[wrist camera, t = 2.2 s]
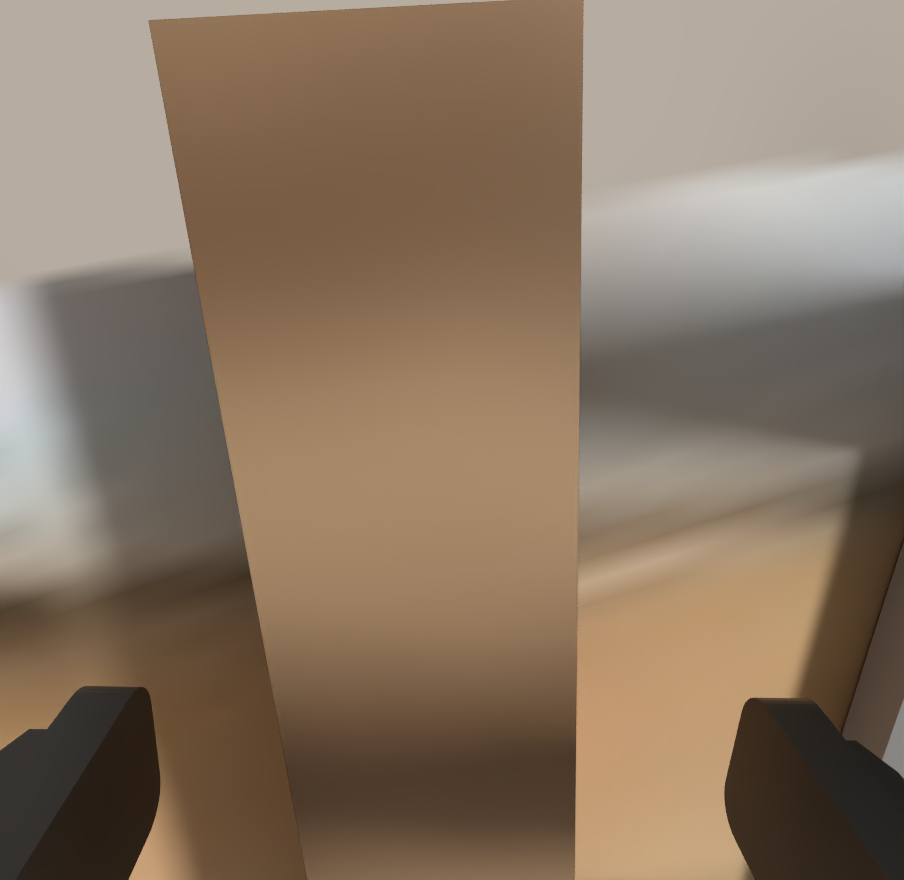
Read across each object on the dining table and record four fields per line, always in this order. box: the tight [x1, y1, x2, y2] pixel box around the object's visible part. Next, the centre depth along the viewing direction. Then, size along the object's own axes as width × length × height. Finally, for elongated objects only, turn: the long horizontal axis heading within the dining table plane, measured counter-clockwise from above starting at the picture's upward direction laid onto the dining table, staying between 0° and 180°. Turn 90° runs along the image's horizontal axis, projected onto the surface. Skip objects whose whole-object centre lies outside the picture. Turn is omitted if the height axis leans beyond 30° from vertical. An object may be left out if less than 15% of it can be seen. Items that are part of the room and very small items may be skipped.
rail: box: [149, 0, 583, 880], centre depth 10 cm, size 16×4×4 cm, turn 3°
